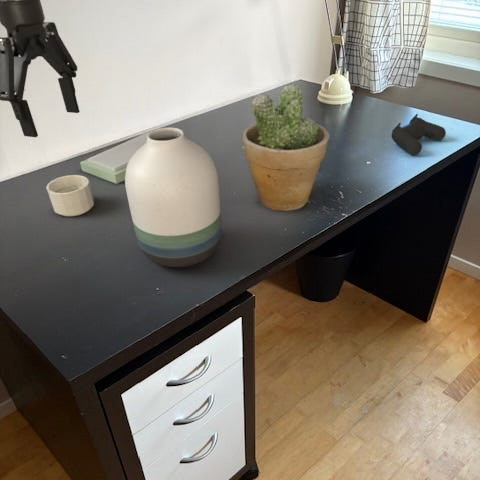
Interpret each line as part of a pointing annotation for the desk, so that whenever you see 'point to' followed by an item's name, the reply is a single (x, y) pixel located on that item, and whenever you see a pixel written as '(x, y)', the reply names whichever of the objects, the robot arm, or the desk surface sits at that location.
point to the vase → (174, 199)
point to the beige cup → (70, 195)
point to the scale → (114, 160)
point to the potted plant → (283, 150)
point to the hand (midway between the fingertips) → (53, 123)
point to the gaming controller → (416, 134)
